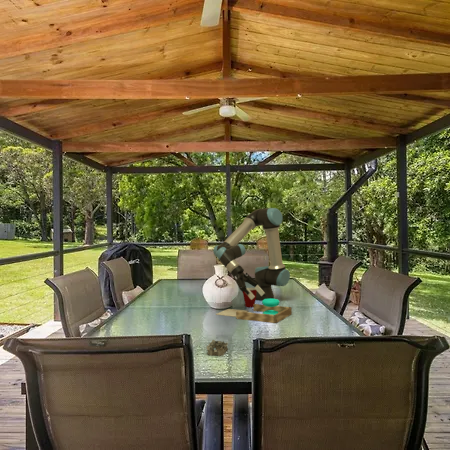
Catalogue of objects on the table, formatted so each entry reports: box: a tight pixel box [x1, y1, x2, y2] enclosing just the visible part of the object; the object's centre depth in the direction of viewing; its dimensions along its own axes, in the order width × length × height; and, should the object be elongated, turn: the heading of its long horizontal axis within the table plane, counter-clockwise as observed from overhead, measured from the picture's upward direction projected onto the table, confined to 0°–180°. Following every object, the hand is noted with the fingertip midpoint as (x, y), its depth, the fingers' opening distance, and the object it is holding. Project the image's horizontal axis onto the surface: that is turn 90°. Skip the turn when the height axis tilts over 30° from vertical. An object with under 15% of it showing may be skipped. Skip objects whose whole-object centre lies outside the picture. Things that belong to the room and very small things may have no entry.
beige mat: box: [215, 308, 249, 318], centre depth 234 cm, size 14×16×1 cm
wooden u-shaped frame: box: [235, 303, 293, 324], centre depth 224 cm, size 24×24×4 cm
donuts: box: [261, 298, 280, 315], centre depth 222 cm, size 10×10×10 cm
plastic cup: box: [242, 287, 257, 308], centre depth 252 cm, size 11×11×12 cm
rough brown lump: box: [206, 339, 229, 357], centre depth 162 cm, size 11×8×4 cm
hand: (258, 296), depth 225 cm, fingers open, 13 cm apart
